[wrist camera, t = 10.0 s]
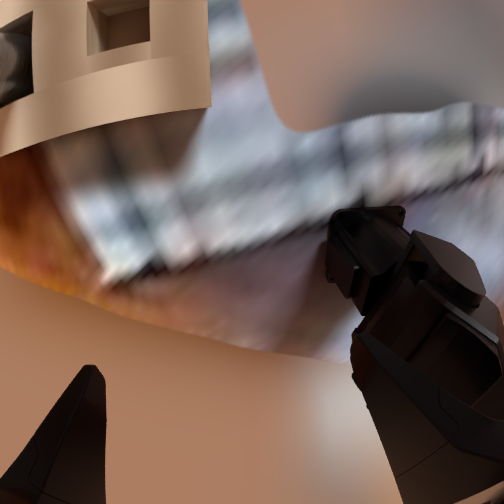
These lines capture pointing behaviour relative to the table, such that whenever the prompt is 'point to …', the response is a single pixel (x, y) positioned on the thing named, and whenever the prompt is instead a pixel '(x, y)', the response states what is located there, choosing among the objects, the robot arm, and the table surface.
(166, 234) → the table surface
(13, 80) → the peg
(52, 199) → the table surface
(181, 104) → the bore block
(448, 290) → the robot arm
